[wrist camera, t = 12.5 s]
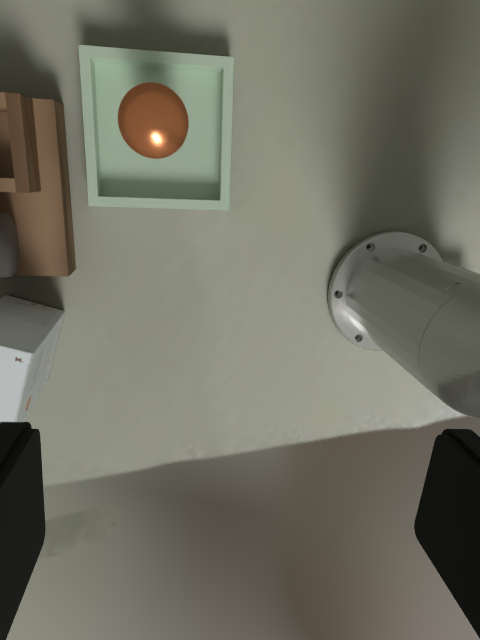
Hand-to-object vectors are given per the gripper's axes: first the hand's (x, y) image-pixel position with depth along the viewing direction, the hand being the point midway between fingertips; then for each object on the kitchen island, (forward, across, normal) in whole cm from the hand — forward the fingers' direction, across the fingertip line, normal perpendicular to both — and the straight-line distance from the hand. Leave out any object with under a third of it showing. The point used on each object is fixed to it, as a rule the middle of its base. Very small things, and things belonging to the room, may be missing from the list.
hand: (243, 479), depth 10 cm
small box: (+34, +16, +10) cm, 39 cm away
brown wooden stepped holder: (+34, +17, -4) cm, 38 cm away
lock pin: (+34, +4, -10) cm, 35 cm away
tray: (+34, +4, -10) cm, 36 cm away
